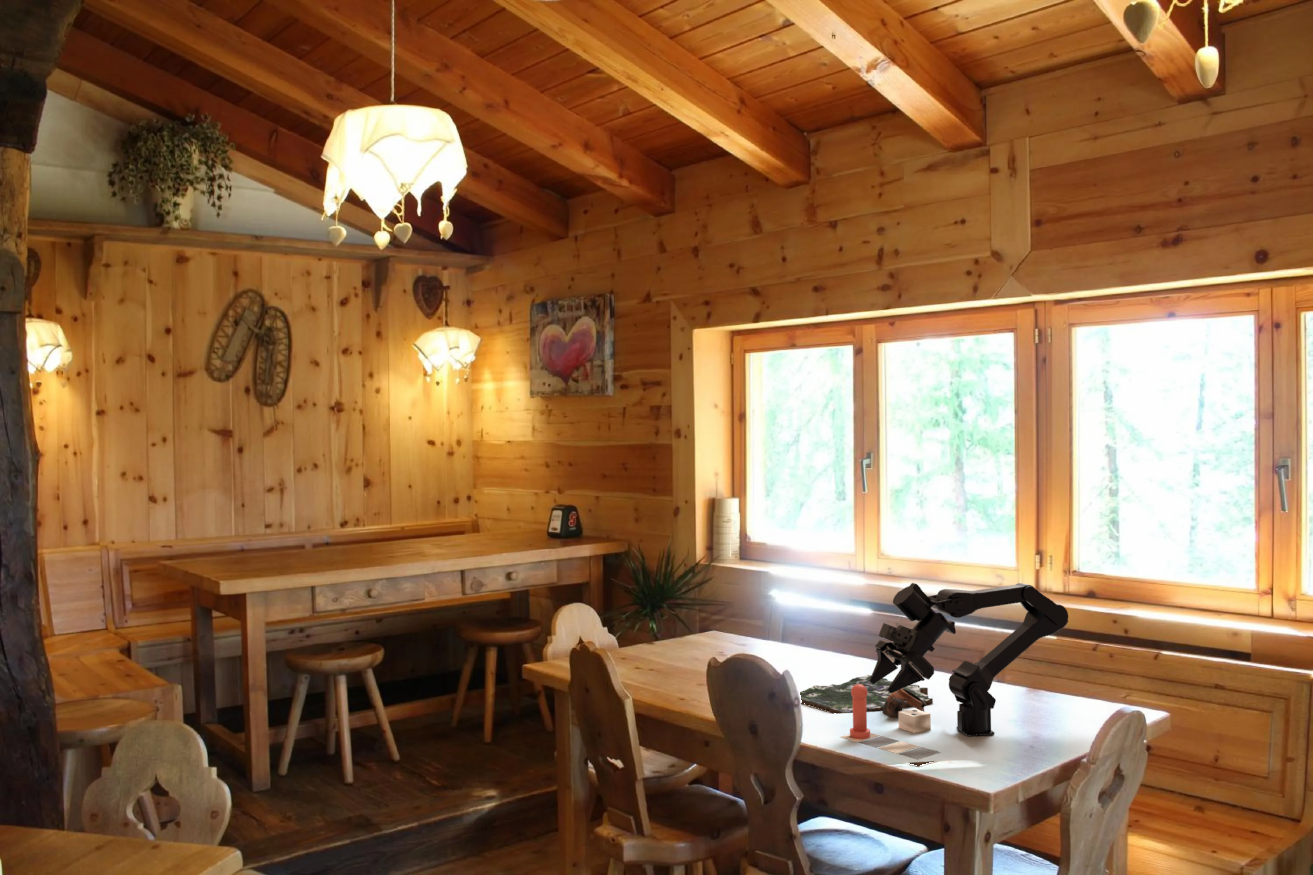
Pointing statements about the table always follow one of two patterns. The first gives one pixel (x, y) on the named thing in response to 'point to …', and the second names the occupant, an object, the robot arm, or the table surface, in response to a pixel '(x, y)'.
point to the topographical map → (842, 700)
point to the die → (914, 720)
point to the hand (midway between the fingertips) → (879, 686)
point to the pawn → (859, 713)
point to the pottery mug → (901, 702)
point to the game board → (896, 747)
